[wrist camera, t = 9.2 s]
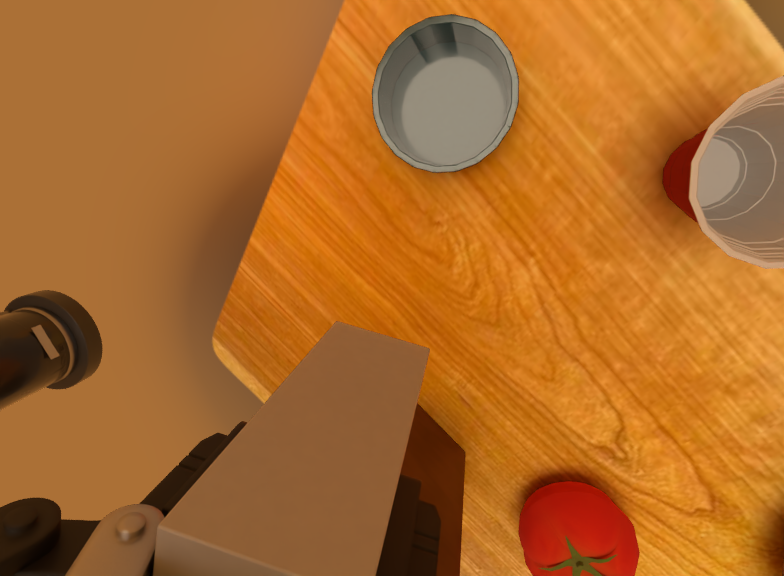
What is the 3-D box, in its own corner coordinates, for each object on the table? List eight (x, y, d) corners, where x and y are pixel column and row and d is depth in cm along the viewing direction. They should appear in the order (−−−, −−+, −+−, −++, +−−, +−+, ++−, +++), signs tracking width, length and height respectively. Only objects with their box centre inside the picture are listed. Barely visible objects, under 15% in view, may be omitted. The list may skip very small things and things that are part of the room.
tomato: (574, 448, 45) (592, 502, 37) (646, 523, 45) (677, 590, 38) (492, 500, 48) (494, 559, 41) (560, 570, 49) (573, 639, 42)
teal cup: (375, 153, 40) (358, 152, 35) (405, 24, 37) (391, -1, 32) (489, 184, 39) (491, 188, 34) (530, 54, 36) (540, 34, 30)
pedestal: (367, 435, 49) (306, 582, 32) (413, 398, 46) (374, 536, 29) (417, 486, 49) (385, 657, 32) (465, 452, 47) (458, 617, 30)
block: (318, 402, 20) (142, 675, 9) (336, 320, 18) (156, 525, 8) (406, 430, 19) (325, 748, 9) (430, 348, 18) (369, 602, 8)
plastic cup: (773, 79, 34) (923, 36, 22) (783, 219, 36) (923, 246, 25) (618, 121, 36) (681, 103, 25) (637, 250, 39) (702, 287, 27)
